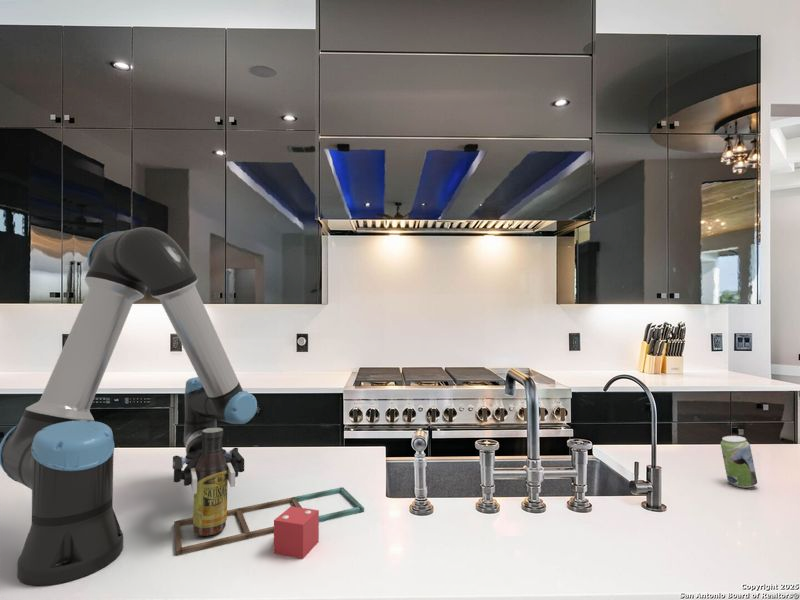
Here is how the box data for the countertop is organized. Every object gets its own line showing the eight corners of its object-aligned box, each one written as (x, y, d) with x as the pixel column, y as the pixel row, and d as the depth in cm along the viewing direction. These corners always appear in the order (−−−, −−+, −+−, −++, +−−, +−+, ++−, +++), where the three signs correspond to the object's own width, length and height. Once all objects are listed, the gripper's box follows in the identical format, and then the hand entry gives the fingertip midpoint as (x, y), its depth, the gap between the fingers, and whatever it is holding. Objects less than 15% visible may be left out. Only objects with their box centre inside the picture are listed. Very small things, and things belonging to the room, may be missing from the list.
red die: (273, 553, 81) (273, 519, 81) (290, 537, 87) (290, 505, 87) (303, 558, 79) (303, 523, 80) (318, 541, 85) (318, 509, 85)
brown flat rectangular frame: (176, 555, 80) (176, 551, 80) (174, 525, 92) (174, 521, 92) (364, 511, 98) (364, 507, 98) (342, 490, 109) (342, 487, 109)
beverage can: (763, 490, 109) (762, 441, 109) (733, 490, 109) (732, 440, 110) (744, 480, 115) (743, 433, 116) (715, 480, 116) (714, 433, 116)
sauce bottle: (203, 541, 85) (202, 436, 85) (186, 531, 89) (186, 431, 89) (234, 527, 90) (233, 428, 90) (217, 519, 94) (217, 424, 94)
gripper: (245, 459, 110) (265, 493, 89) (157, 472, 101) (157, 513, 80) (246, 428, 110) (265, 455, 90) (158, 439, 101) (157, 471, 81)
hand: (214, 482), depth 85 cm, fingers closed on sauce bottle, 6 cm apart
